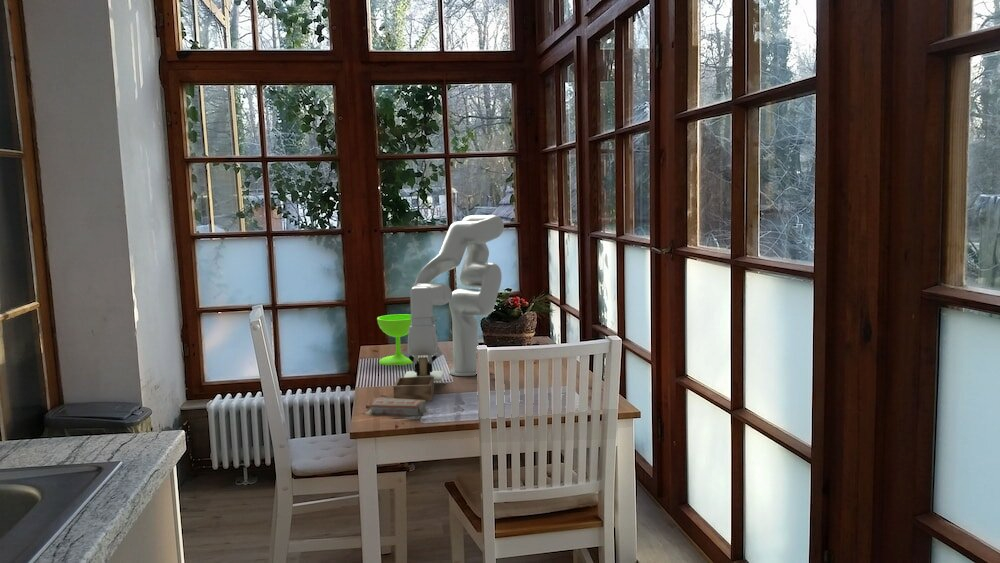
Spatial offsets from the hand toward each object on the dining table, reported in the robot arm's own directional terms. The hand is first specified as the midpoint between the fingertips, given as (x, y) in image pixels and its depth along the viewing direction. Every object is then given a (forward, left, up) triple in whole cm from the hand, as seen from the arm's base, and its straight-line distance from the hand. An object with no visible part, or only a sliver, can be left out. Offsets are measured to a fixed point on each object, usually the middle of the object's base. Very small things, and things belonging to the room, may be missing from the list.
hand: (423, 373), depth 266 cm
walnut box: (+2, +15, -5) cm, 16 cm away
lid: (0, 0, -1) cm, 1 cm away
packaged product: (+6, +31, -6) cm, 32 cm away
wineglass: (+14, -45, -5) cm, 48 cm away
